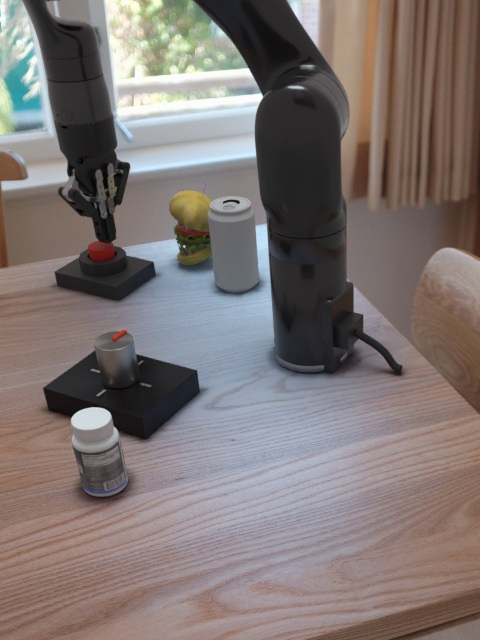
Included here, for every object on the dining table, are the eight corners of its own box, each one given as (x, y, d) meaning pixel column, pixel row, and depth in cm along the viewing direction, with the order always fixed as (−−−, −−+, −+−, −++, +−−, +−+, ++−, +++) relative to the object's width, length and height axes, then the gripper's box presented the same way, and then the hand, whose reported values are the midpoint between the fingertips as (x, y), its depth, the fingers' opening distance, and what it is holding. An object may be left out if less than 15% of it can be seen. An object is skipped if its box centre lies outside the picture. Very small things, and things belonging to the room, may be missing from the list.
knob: (124, 392, 103) (116, 351, 100) (93, 383, 105) (85, 342, 102) (147, 374, 106) (140, 333, 103) (117, 365, 108) (109, 325, 105)
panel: (200, 391, 109) (197, 368, 107) (146, 439, 101) (141, 416, 99) (106, 365, 114) (102, 343, 112) (48, 409, 106) (42, 386, 104)
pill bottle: (86, 471, 97) (70, 405, 92) (130, 469, 97) (117, 403, 92) (80, 499, 93) (63, 432, 88) (126, 497, 94) (112, 429, 88)
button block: (156, 275, 134) (152, 249, 131) (118, 300, 127) (113, 274, 125) (96, 261, 137) (91, 236, 135) (57, 285, 131) (51, 259, 129)
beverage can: (262, 275, 133) (257, 194, 125) (255, 295, 128) (249, 212, 121) (220, 274, 134) (212, 193, 126) (211, 294, 129) (202, 211, 121)
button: (120, 254, 131) (118, 242, 130) (104, 264, 128) (102, 252, 127) (100, 250, 132) (98, 238, 131) (84, 259, 129) (82, 247, 128)
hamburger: (186, 250, 140) (176, 172, 133) (230, 253, 139) (223, 175, 131) (169, 271, 134) (157, 191, 127) (215, 275, 133) (207, 194, 126)
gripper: (92, 95, 123) (115, 219, 134) (25, 123, 114) (55, 254, 125) (136, 102, 120) (156, 228, 132) (71, 131, 112) (98, 264, 123)
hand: (107, 240), depth 128 cm, fingers closed
